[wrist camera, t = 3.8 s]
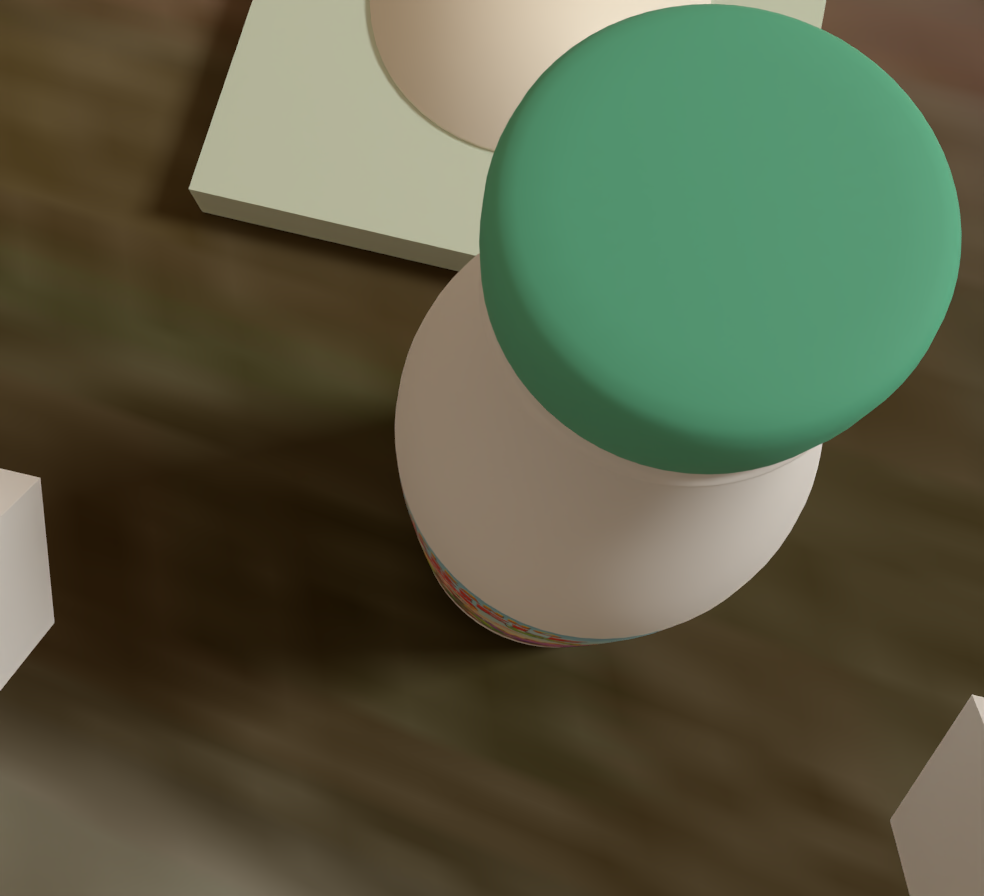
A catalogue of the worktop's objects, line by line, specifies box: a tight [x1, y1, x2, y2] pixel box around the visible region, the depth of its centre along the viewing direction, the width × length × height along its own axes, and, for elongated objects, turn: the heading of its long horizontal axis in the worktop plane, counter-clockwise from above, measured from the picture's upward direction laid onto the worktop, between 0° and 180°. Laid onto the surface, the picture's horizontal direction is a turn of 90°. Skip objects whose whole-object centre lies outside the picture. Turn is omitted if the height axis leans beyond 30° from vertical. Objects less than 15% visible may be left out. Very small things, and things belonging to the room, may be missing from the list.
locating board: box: [189, 0, 826, 271], centre depth 31 cm, size 18×18×2 cm
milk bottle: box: [395, 4, 961, 648], centre depth 18 cm, size 8×8×20 cm
